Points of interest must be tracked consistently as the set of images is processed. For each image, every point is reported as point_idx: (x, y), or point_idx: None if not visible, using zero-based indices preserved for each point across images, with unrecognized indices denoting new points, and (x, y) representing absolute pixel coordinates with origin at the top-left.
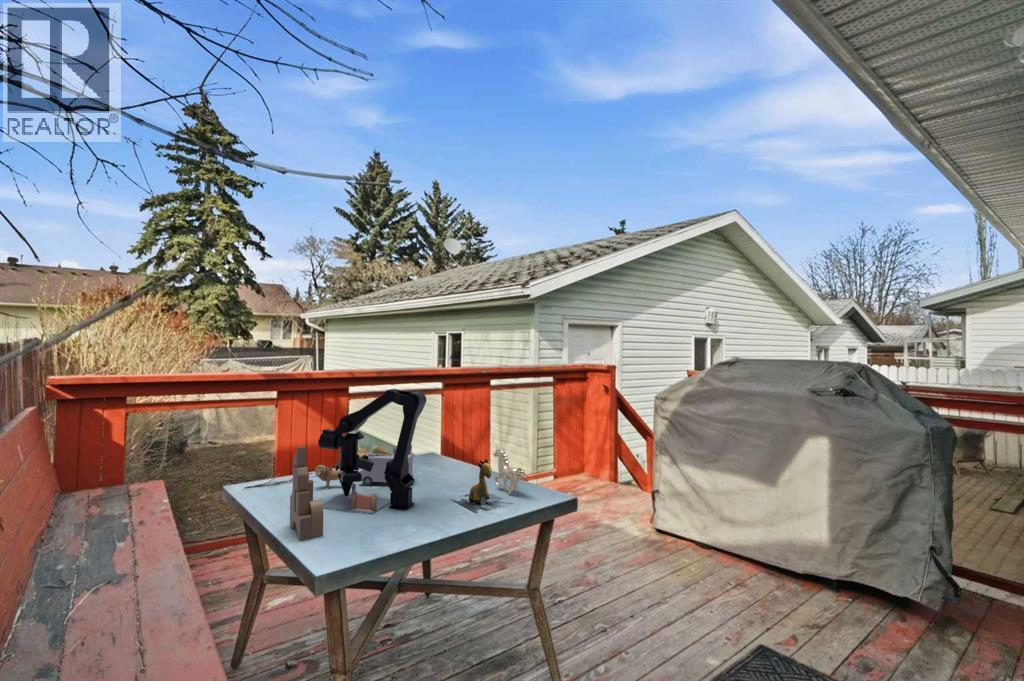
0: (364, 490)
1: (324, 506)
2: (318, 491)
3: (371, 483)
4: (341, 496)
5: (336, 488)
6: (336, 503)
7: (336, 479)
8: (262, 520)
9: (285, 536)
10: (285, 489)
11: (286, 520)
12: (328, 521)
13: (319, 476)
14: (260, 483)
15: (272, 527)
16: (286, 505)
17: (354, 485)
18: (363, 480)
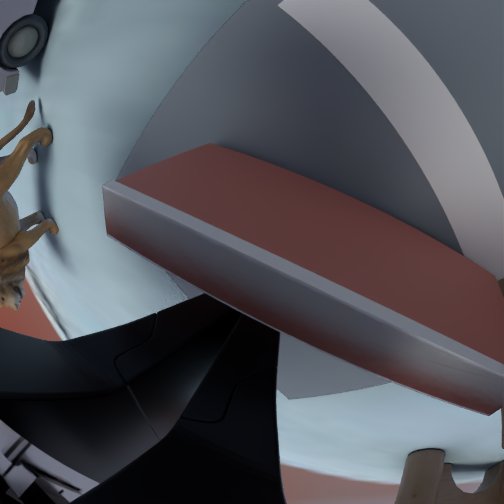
0: (86, 47)
1: (307, 384)
2: (76, 265)
3: (40, 18)
4: None
5: (50, 190)
6: None
7: (13, 209)
8: (305, 468)
9: (457, 479)
10: (72, 315)
11: (354, 463)
12: (495, 425)
13: (20, 282)
14: (52, 317)
15: (376, 479)
16: None
17: (131, 218)
18: (15, 66)
